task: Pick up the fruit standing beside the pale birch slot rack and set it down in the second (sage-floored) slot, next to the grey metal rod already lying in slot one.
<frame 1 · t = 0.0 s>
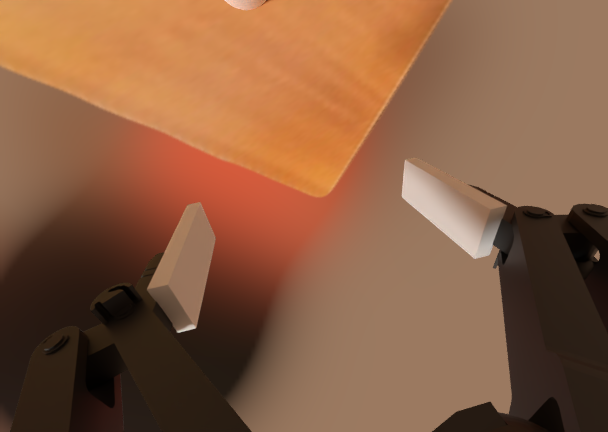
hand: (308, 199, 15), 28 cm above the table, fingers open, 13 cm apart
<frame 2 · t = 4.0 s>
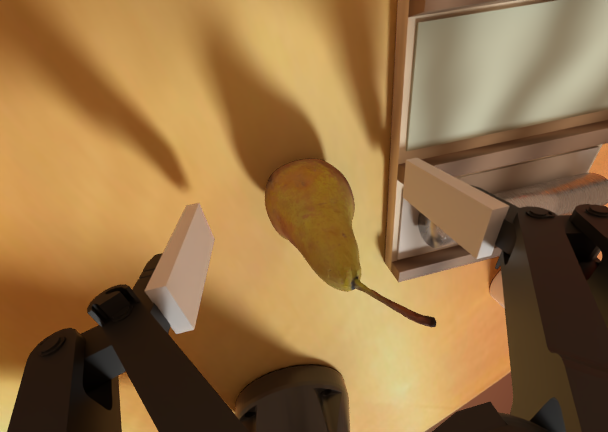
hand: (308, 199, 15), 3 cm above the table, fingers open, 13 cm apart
cup: (519, 275, 30), on the table
fruit: (299, 184, 18), on the table
rack: (495, 144, 19), on the table
rod: (494, 206, 21), point 1 cm above the table, tilted 20°, touching rack
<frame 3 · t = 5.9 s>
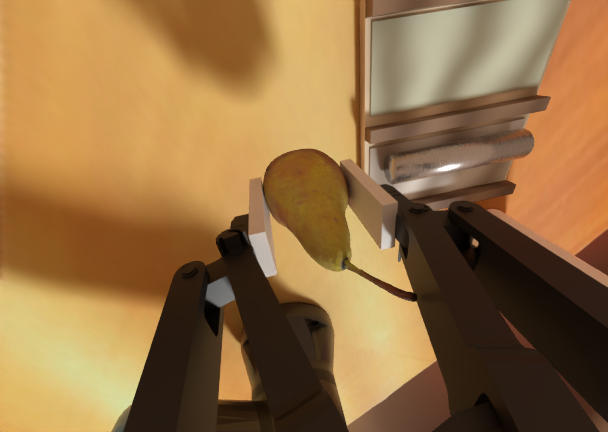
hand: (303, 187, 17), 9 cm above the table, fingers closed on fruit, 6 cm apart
cup: (477, 232, 36), on the table
fruit: (297, 174, 19), point 7 cm above the table, touching gripper
rack: (443, 115, 25), on the table
rod: (448, 165, 26), point 2 cm above the table, tilted 59°, touching rack
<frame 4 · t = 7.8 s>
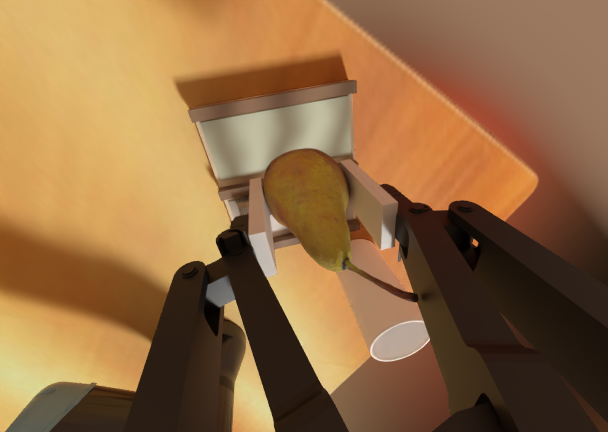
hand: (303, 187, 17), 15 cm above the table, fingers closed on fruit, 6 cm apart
cup: (354, 256, 43), on the table
fruit: (297, 174, 19), point 13 cm above the table, touching gripper
rack: (288, 174, 33), on the table
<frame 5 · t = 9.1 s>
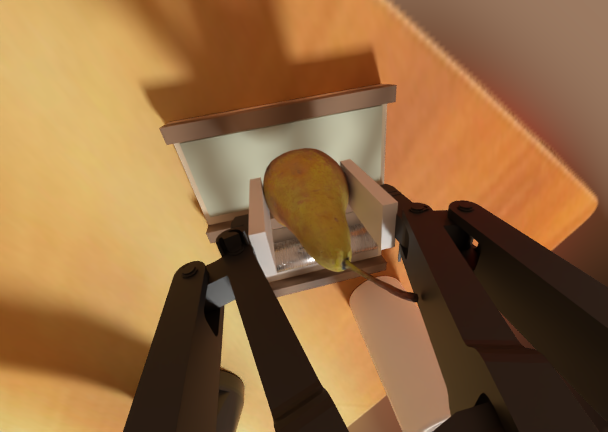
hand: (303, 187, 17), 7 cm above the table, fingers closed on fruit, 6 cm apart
cup: (375, 295, 36), on the table
fruit: (297, 174, 19), point 5 cm above the table, touching gripper
rack: (297, 205, 25), on the table
rod: (307, 250, 27), point 2 cm above the table, tilted 42°, touching rack
when the fingers open (3 cm above the table, at t = 10.5 s): fruit stays where it is, resting on rack.
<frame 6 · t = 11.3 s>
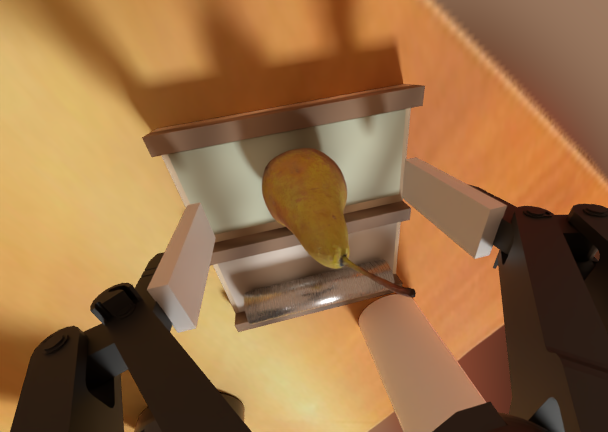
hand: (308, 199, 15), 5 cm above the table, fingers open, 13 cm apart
cup: (386, 313, 33), on the table
fruit: (296, 174, 19), point 1 cm above the table, touching rack
rack: (304, 220, 23), on the table
rod: (315, 275, 24), point 2 cm above the table, tilted 55°, touching rack
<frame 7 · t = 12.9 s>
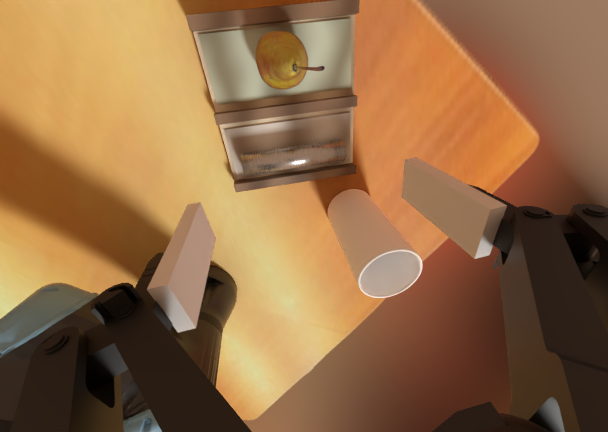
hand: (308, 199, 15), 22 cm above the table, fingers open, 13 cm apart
cup: (349, 209, 43), on the table
fruit: (279, 61, 29), point 1 cm above the table, touching rack
rack: (286, 107, 32), on the table
rod: (292, 148, 34), point 2 cm above the table, tilted 38°, touching rack
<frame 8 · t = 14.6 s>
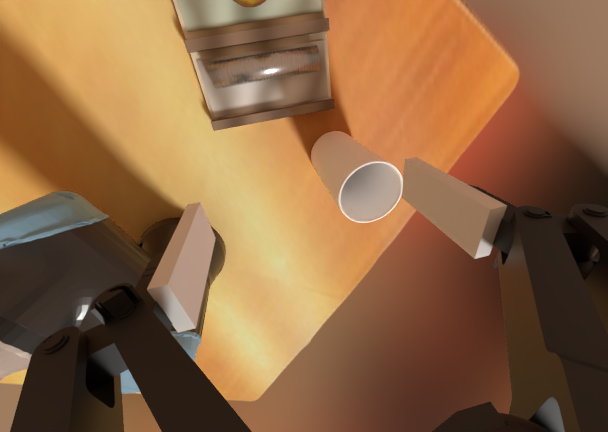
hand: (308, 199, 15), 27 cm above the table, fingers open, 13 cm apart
cup: (333, 154, 43), on the table
rack: (258, 37, 32), on the table
rod: (267, 78, 33), point 2 cm above the table, tilted 60°, touching rack
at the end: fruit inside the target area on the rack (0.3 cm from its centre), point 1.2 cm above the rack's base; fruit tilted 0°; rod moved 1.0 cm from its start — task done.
